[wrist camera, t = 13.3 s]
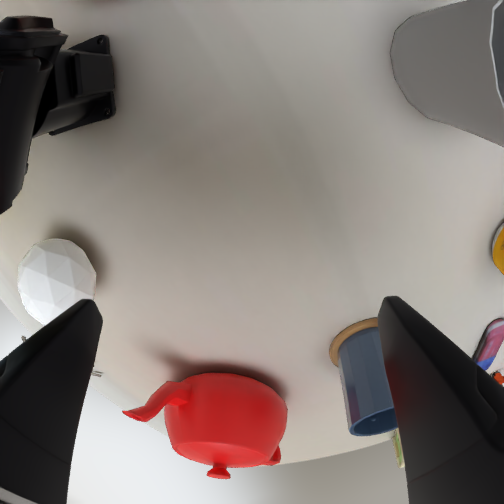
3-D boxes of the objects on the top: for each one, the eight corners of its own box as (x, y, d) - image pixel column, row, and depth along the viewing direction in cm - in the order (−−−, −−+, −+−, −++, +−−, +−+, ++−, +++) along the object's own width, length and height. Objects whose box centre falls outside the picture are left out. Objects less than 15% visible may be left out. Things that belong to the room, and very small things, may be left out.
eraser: (486, 322, 26) (492, 332, 25) (507, 314, 26) (512, 323, 24) (466, 369, 32) (469, 378, 30) (485, 362, 31) (488, 370, 30)
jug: (342, 329, 26) (359, 412, 18) (404, 323, 25) (432, 397, 18) (329, 379, 31) (337, 447, 23) (381, 373, 30) (397, 436, 23)
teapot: (322, 407, 36) (328, 482, 26) (240, 429, 42) (235, 492, 31) (194, 311, 26) (164, 431, 16) (115, 356, 32) (84, 437, 21)
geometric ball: (97, 261, 27) (76, 333, 24) (33, 229, 22) (8, 305, 19) (120, 254, 22) (93, 348, 19) (36, 212, 16) (2, 313, 14)
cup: (483, 124, 15) (576, 167, 6) (401, 124, 16) (497, 170, 8) (469, 24, 10) (564, 22, 2) (379, 9, 12) (466, -31, 3)
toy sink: (400, 462, 35) (396, 471, 42) (436, 449, 33) (427, 461, 40) (393, 425, 42) (391, 440, 49) (427, 413, 40) (420, 431, 47)
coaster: (324, 369, 30) (325, 373, 30) (335, 320, 26) (336, 325, 25) (390, 362, 30) (391, 366, 29) (411, 313, 25) (413, 318, 25)
